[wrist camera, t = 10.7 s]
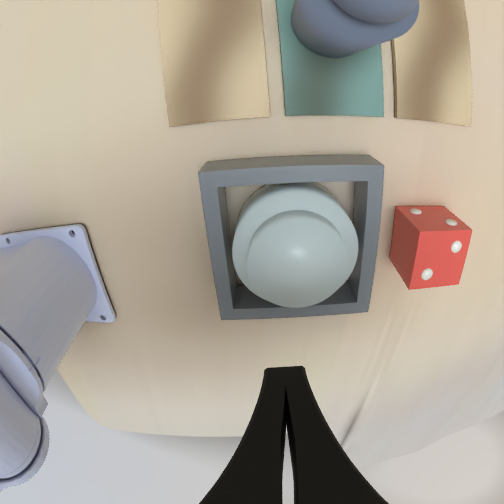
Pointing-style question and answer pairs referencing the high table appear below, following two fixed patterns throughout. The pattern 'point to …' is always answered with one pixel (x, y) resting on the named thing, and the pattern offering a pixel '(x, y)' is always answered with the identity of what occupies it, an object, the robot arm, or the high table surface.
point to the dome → (294, 244)
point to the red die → (429, 246)
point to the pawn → (350, 24)
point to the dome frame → (292, 171)
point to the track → (309, 66)
